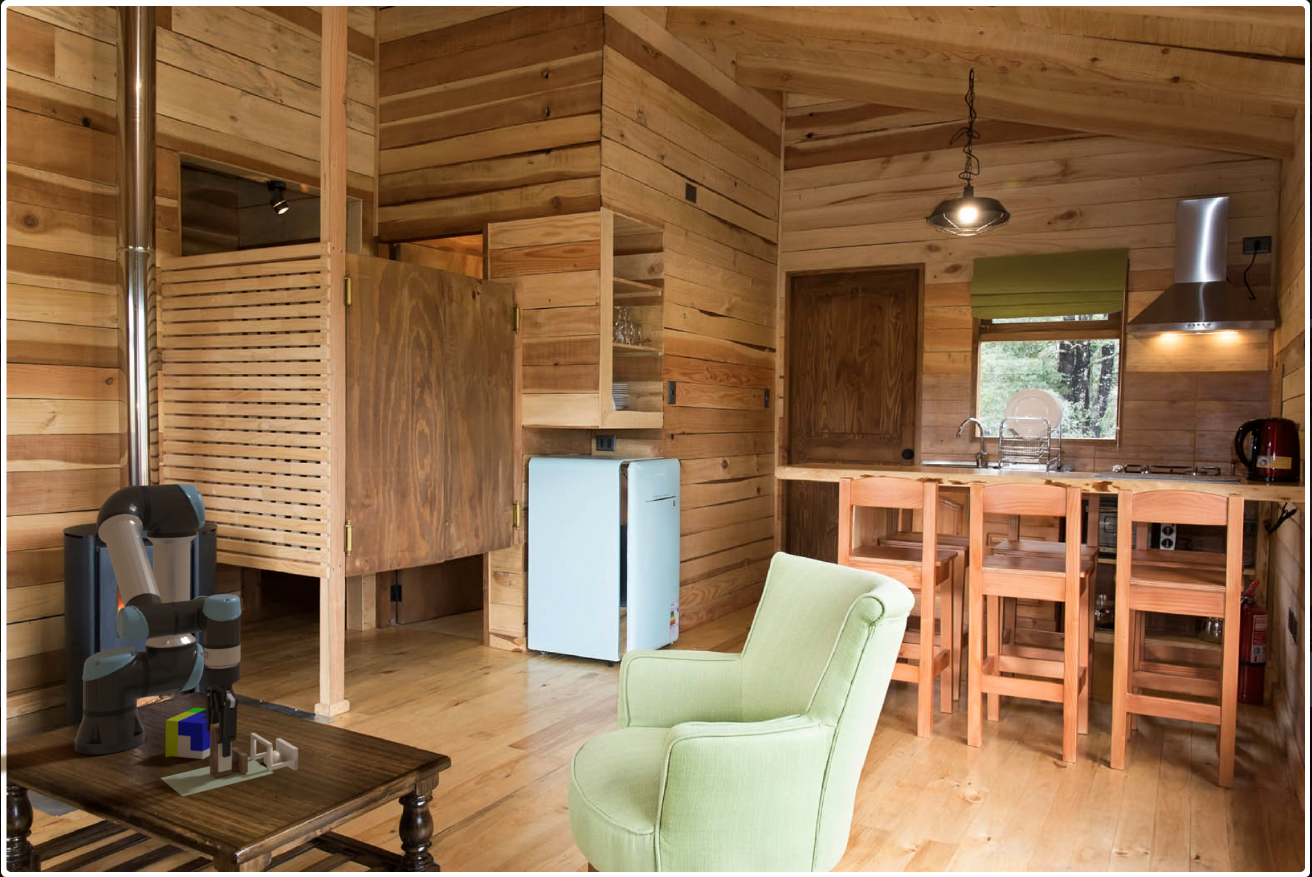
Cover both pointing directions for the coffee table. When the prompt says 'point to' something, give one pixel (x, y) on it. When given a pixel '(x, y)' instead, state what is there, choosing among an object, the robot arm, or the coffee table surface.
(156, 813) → the coffee table surface
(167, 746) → the puzzle toy
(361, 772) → the coffee table surface
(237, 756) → the kicker
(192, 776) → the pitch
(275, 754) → the ball
